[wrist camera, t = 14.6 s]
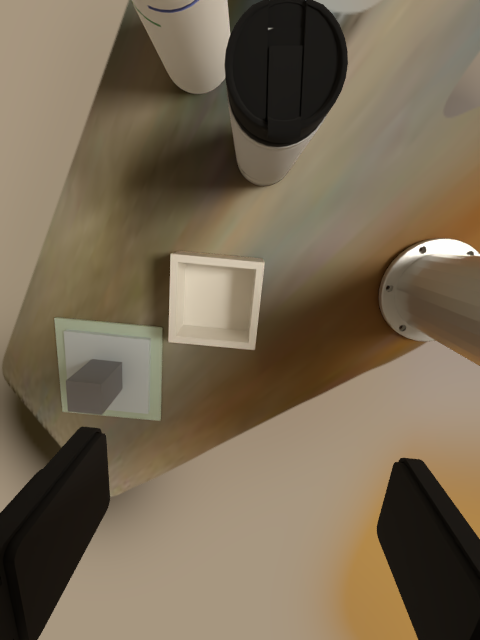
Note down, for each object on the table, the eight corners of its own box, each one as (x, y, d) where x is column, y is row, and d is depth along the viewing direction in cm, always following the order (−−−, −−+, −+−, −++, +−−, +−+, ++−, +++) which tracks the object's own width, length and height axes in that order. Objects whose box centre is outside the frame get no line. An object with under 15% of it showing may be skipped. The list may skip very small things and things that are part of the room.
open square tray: (262, 258, 37) (264, 262, 32) (253, 335, 40) (254, 350, 35) (180, 250, 37) (170, 253, 32) (177, 328, 40) (168, 342, 35)
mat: (162, 327, 40) (161, 328, 39) (161, 419, 44) (160, 420, 43) (56, 317, 40) (54, 317, 39) (64, 410, 44) (62, 411, 43)
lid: (150, 337, 40) (131, 358, 33) (149, 410, 43) (132, 443, 36) (67, 329, 40) (31, 348, 33) (72, 402, 43) (40, 433, 36)
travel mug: (236, 189, 35) (222, 139, 16) (236, 123, 33) (221, -26, 14) (290, 189, 35) (345, 139, 15) (294, 123, 33) (361, -28, 14)
